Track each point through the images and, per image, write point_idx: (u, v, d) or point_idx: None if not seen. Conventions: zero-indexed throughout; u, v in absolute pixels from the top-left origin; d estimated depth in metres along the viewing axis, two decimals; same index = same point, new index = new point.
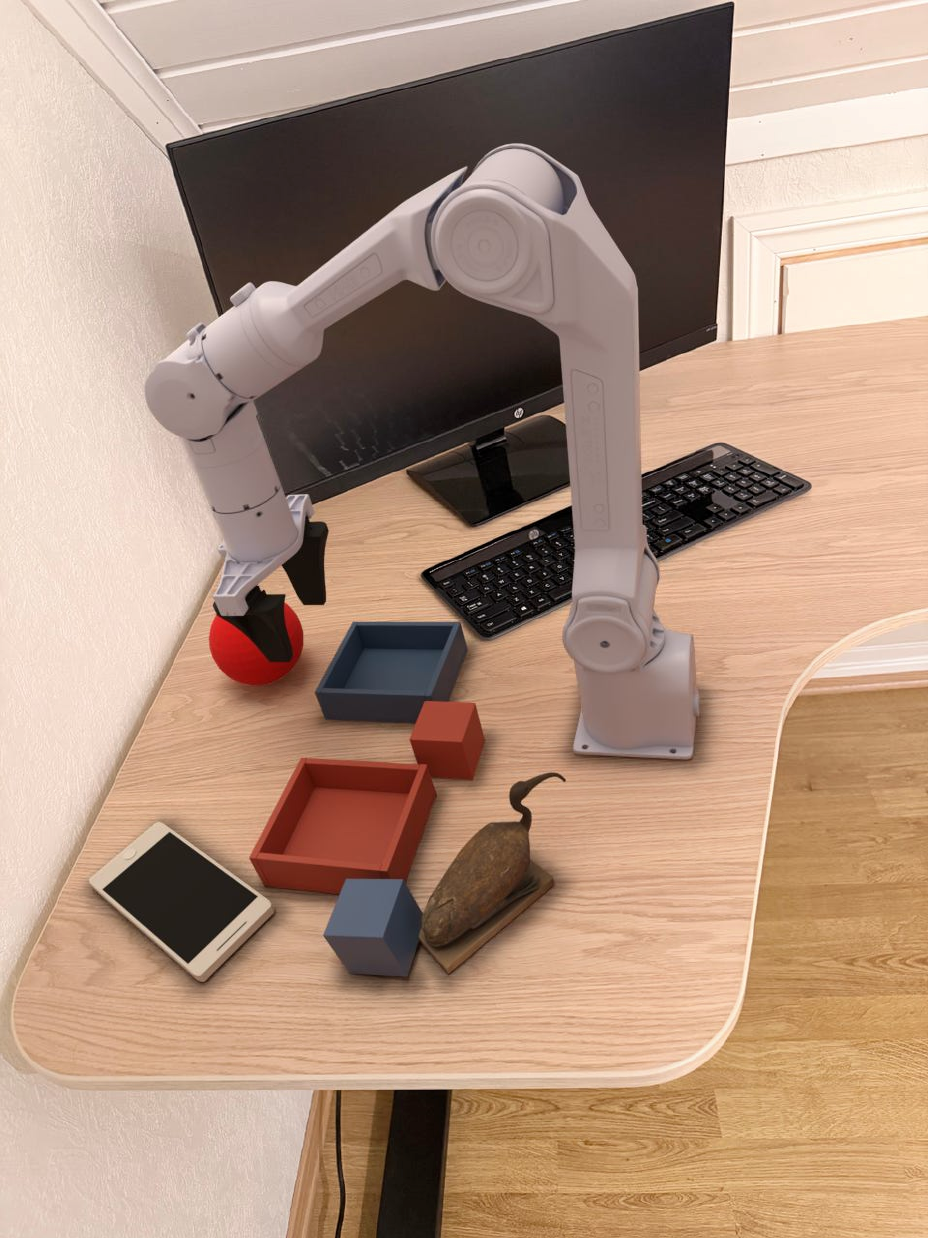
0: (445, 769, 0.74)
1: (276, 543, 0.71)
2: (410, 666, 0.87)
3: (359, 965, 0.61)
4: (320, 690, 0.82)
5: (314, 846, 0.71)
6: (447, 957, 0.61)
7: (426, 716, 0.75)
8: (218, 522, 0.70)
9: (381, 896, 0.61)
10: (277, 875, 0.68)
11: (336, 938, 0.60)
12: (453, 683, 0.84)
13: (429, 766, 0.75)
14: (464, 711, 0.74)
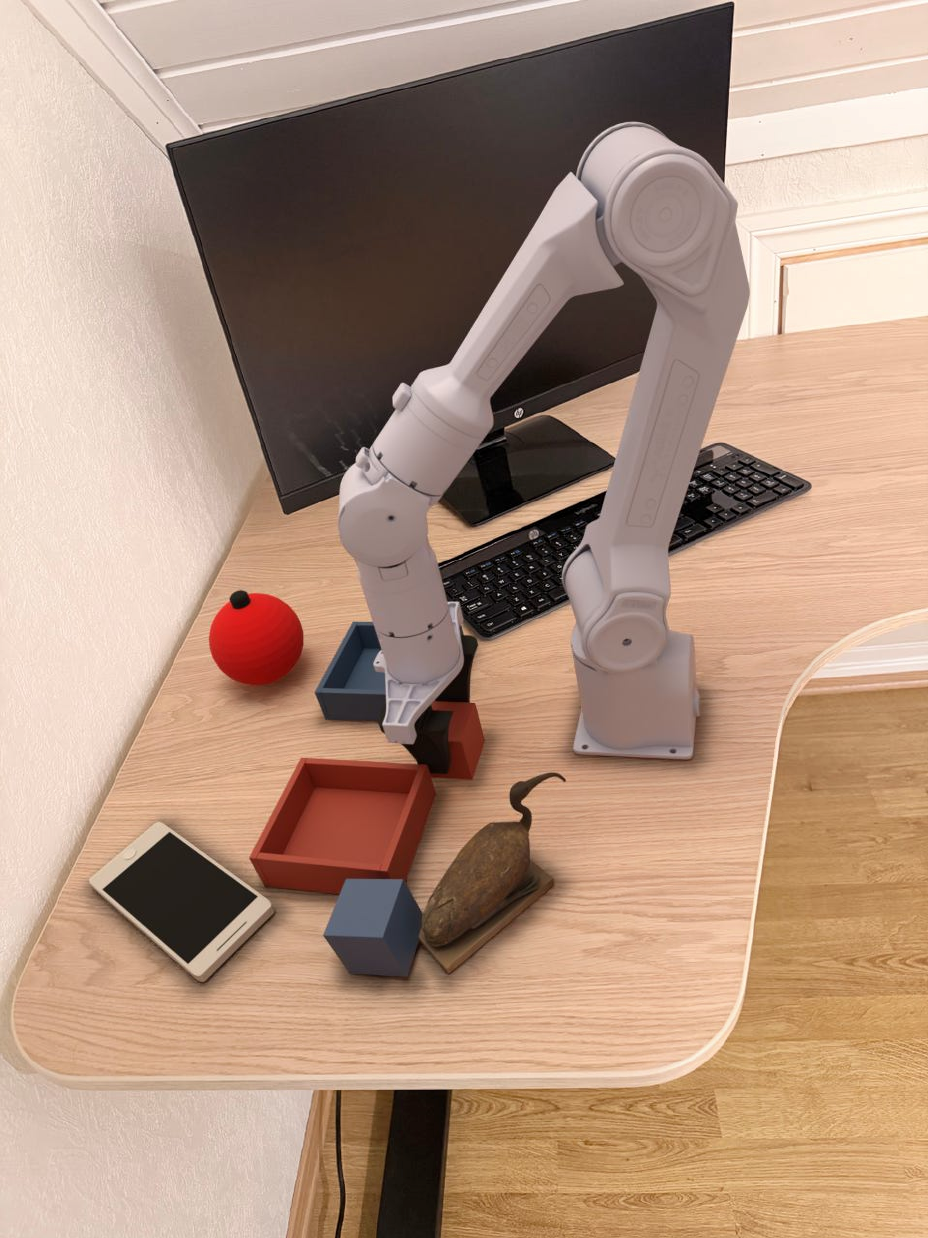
0: None
1: (443, 665, 0.68)
2: None
3: (359, 965, 0.61)
4: (320, 690, 0.82)
5: (314, 846, 0.71)
6: (447, 957, 0.61)
7: None
8: (384, 644, 0.67)
9: (381, 896, 0.61)
10: (277, 875, 0.68)
11: (336, 938, 0.60)
12: None
13: None
14: (464, 711, 0.74)
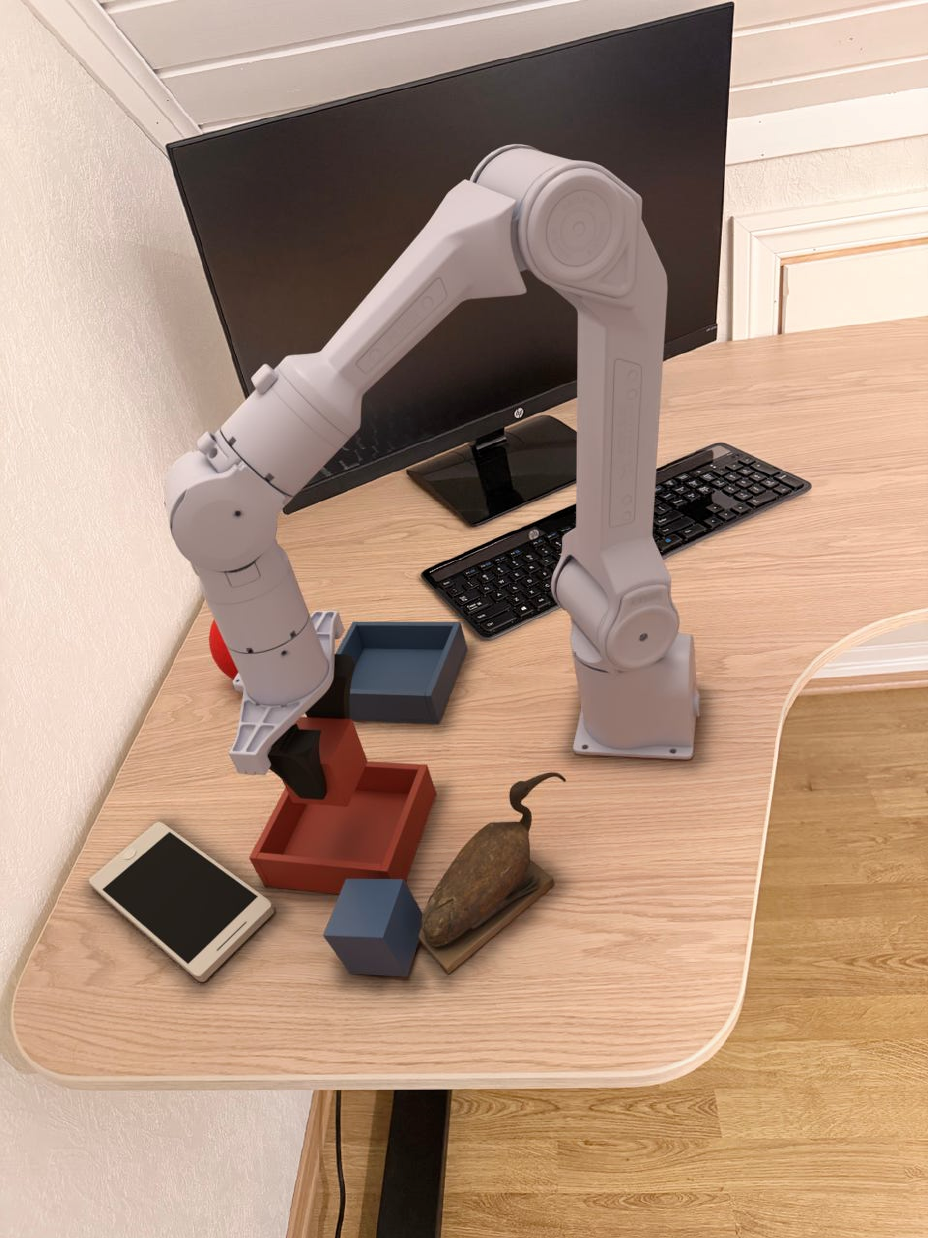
0: None
1: (303, 684, 0.59)
2: (410, 666, 0.87)
3: (359, 965, 0.61)
4: None
5: (314, 846, 0.71)
6: (447, 957, 0.61)
7: None
8: (235, 660, 0.59)
9: (381, 896, 0.61)
10: (277, 875, 0.68)
11: (336, 938, 0.60)
12: (453, 683, 0.84)
13: None
14: (338, 729, 0.66)
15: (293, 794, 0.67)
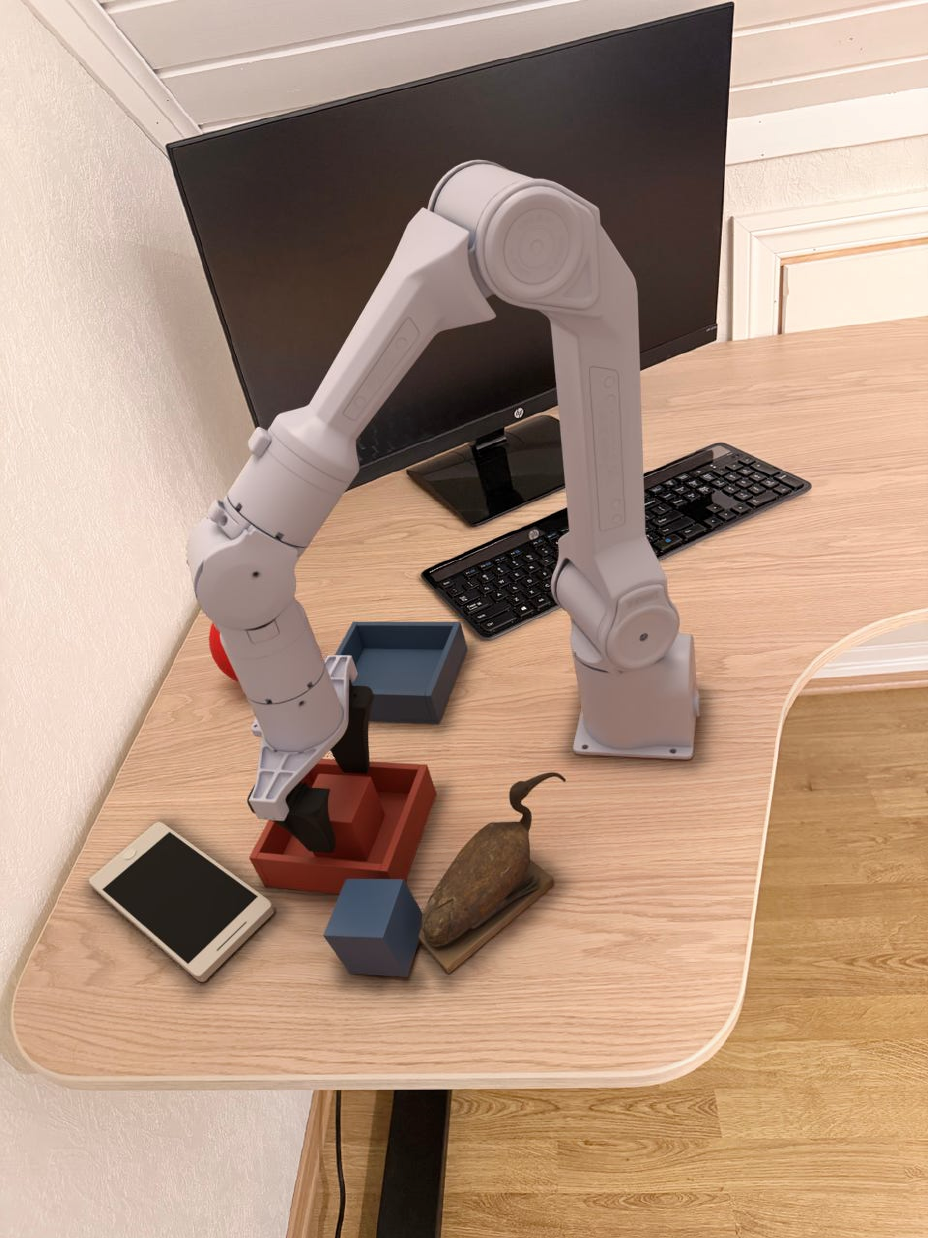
0: (337, 849, 0.69)
1: (320, 731, 0.62)
2: (410, 666, 0.87)
3: (359, 965, 0.61)
4: None
5: None
6: (447, 957, 0.61)
7: None
8: (254, 710, 0.61)
9: (381, 896, 0.61)
10: (277, 875, 0.68)
11: (336, 938, 0.60)
12: (453, 683, 0.84)
13: None
14: (357, 787, 0.69)
15: None
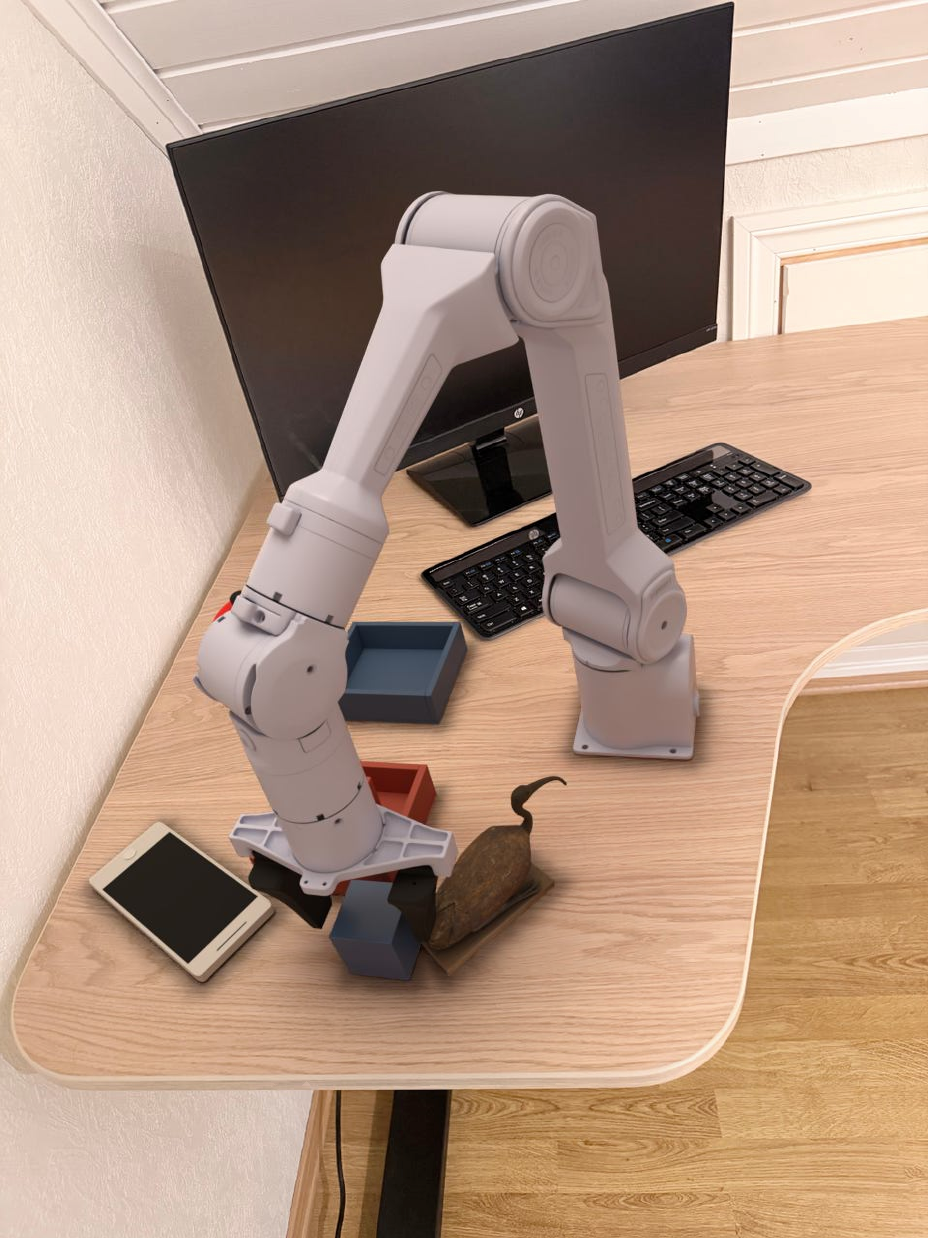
0: None
1: None
2: (410, 666, 0.87)
3: (361, 967, 0.61)
4: None
5: None
6: (448, 960, 0.61)
7: None
8: (348, 820, 0.52)
9: None
10: None
11: (342, 941, 0.60)
12: (453, 683, 0.84)
13: None
14: None
15: None
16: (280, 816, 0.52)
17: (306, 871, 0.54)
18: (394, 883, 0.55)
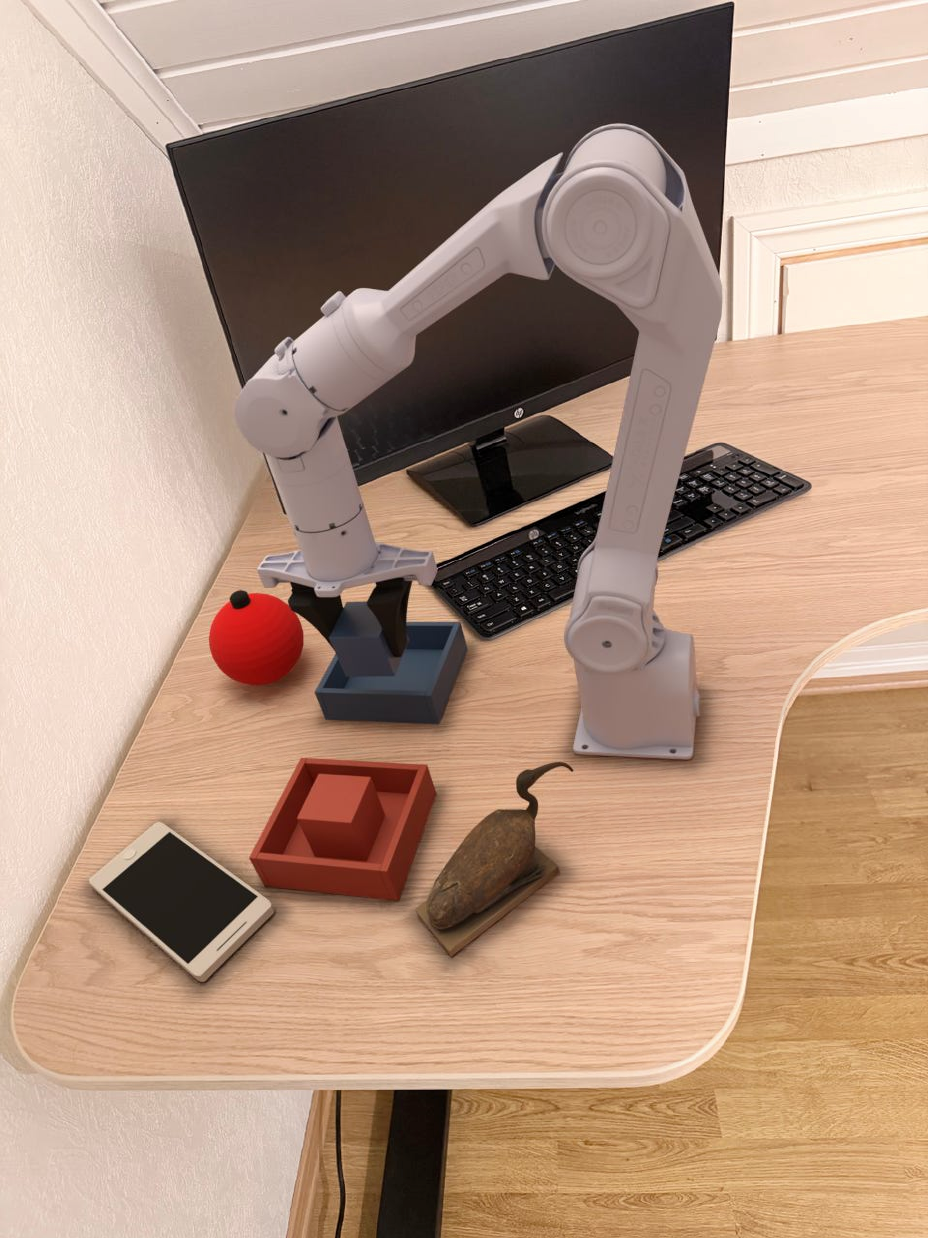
0: (337, 849, 0.69)
1: None
2: (410, 666, 0.87)
3: (355, 667, 0.76)
4: (320, 690, 0.82)
5: None
6: (450, 940, 0.62)
7: (317, 791, 0.70)
8: (352, 533, 0.68)
9: None
10: (277, 875, 0.68)
11: (339, 639, 0.74)
12: (453, 683, 0.84)
13: (320, 845, 0.70)
14: (357, 787, 0.69)
15: (315, 848, 0.70)
16: None
17: (319, 581, 0.70)
18: (372, 593, 0.71)
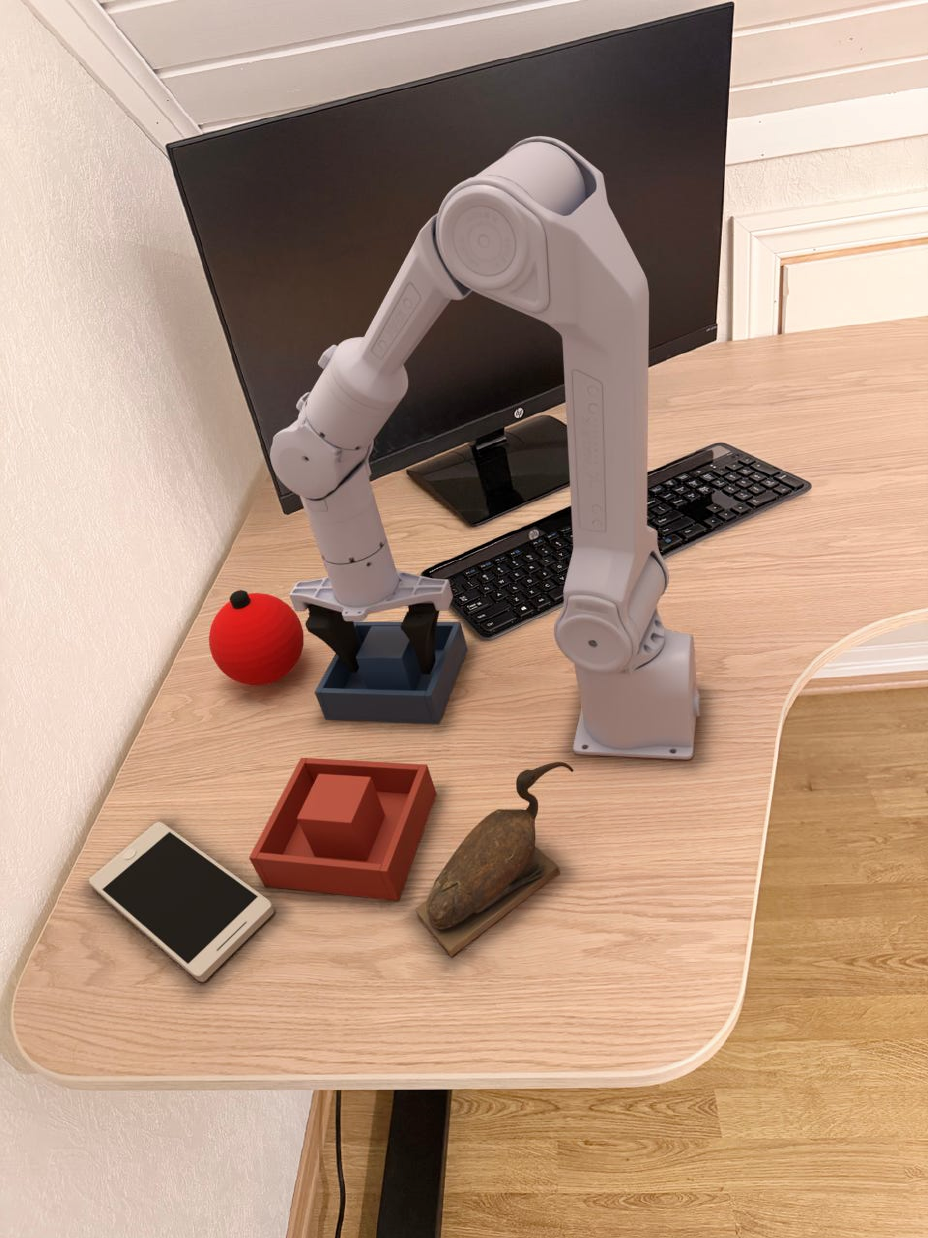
0: (337, 849, 0.69)
1: None
2: None
3: (378, 685, 0.84)
4: (320, 690, 0.82)
5: None
6: (450, 940, 0.62)
7: (317, 791, 0.70)
8: (376, 564, 0.75)
9: (399, 635, 0.83)
10: (277, 875, 0.68)
11: (365, 659, 0.82)
12: (453, 683, 0.84)
13: (320, 845, 0.70)
14: (357, 787, 0.69)
15: (315, 848, 0.70)
16: None
17: (346, 607, 0.77)
18: (405, 617, 0.78)
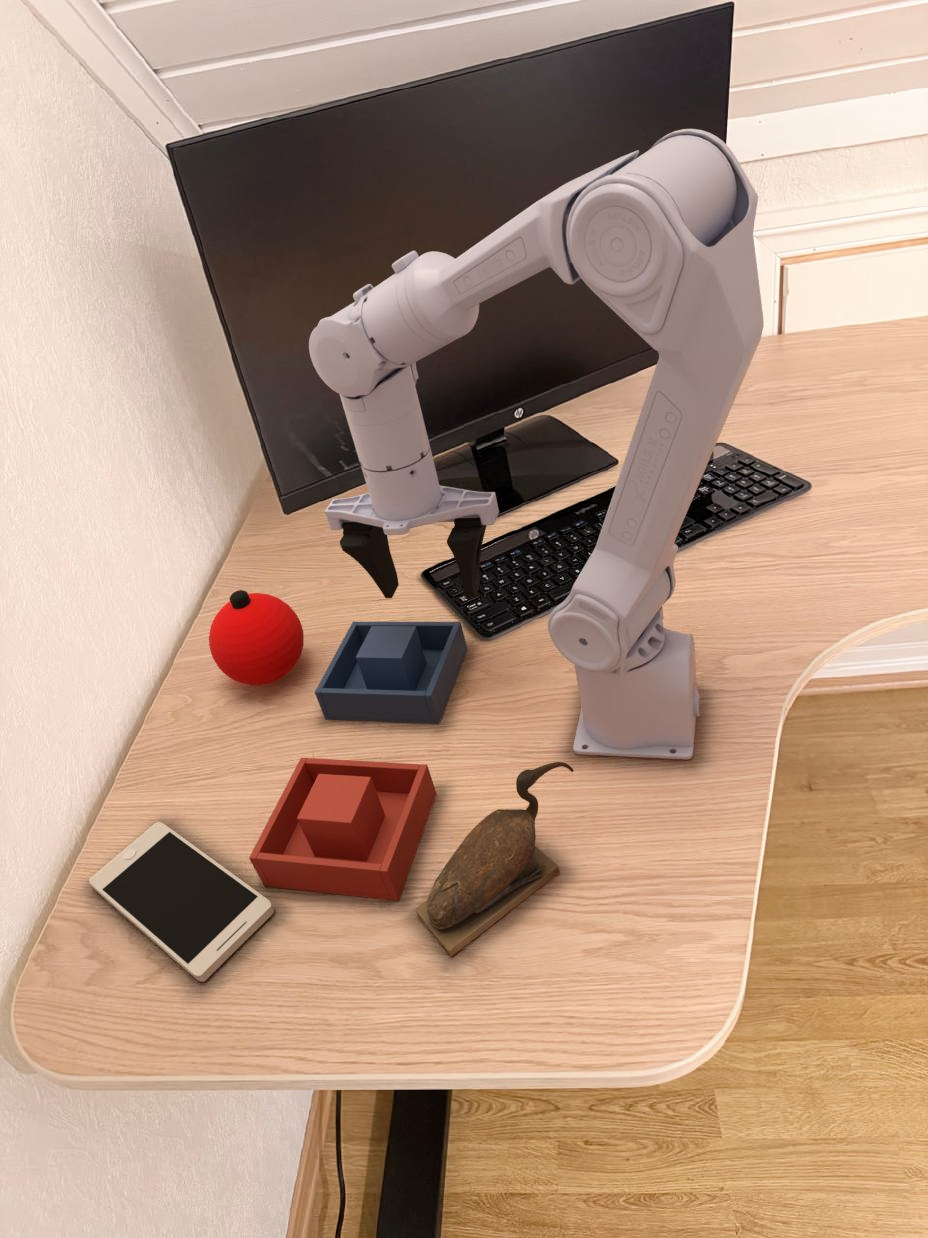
0: (337, 849, 0.69)
1: None
2: None
3: (378, 685, 0.84)
4: (320, 690, 0.82)
5: None
6: (450, 940, 0.62)
7: (317, 791, 0.70)
8: (420, 473, 0.71)
9: (399, 635, 0.83)
10: (277, 875, 0.68)
11: (365, 659, 0.82)
12: (453, 683, 0.84)
13: (320, 845, 0.70)
14: (357, 787, 0.69)
15: (315, 848, 0.70)
16: None
17: (387, 520, 0.73)
18: (451, 532, 0.74)
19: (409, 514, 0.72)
